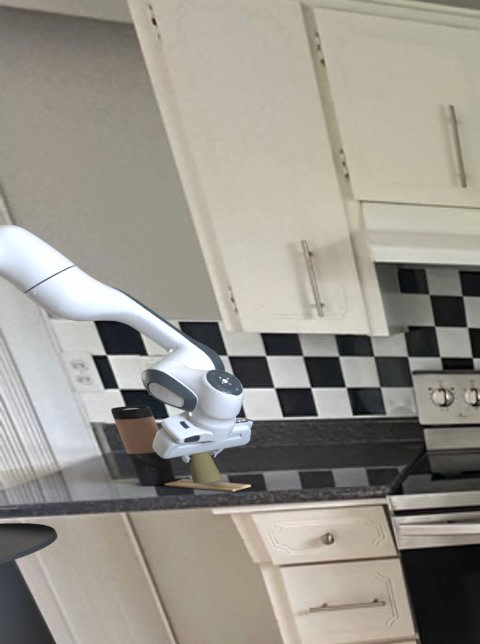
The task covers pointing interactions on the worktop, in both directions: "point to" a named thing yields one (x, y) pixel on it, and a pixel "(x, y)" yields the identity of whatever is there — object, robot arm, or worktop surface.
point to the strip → (208, 485)
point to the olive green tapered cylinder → (204, 468)
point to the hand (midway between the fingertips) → (198, 458)
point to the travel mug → (142, 444)
